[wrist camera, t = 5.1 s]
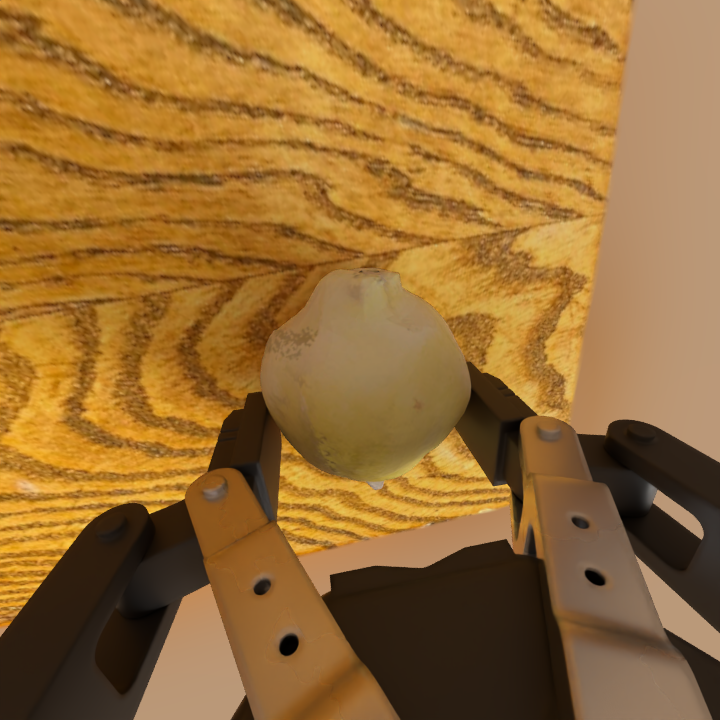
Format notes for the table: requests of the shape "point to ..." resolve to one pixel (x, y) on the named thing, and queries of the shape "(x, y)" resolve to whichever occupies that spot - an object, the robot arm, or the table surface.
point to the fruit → (365, 377)
